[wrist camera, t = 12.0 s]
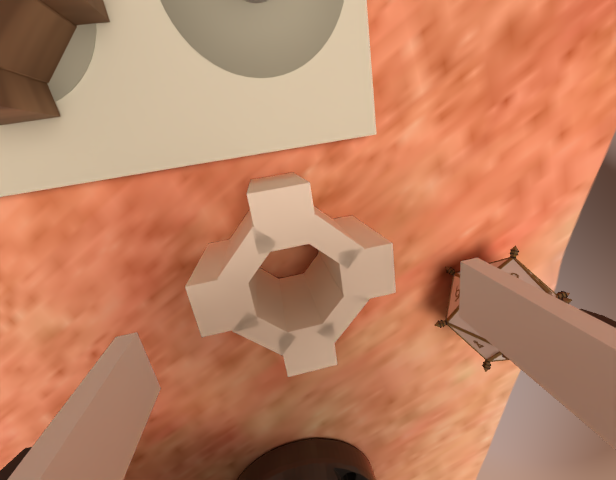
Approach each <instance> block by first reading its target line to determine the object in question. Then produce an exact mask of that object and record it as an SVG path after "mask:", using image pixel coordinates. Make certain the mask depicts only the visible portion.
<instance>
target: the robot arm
mask: <svg viewBox="0 0 616 480" xmlns="http://www.w3.org/2000/svg"><path fill="white" fill-rule="evenodd" d="M459 317H460V318H461V319H463V320H464V321H465V322H466V323H467V324H468V325H470V326H471V327H472V328H473V329H474V330H475V331H477V332H478V333H479V334H480V335H481V336H482V337H484V338H485V339H486V340H487V341H488V342H490V343H491V344H492V345H493V346H494V347H495V348H497V349H498V350H499V351H500V352H501V353H502V354H504V355H505V356H506V357H507V358H508V359H509V360H511V361H512V362H513V363H514V364H515V365H517V366H518V367H519V368H520V369H521V370H522V371H524V372H525V373H526V374H527V375H528V376H529V377H531V378H532V379H533V380H534V381H535V382H536V383H538V384H539V385H540V386H541V387H542V388H544V389H545V390H546V391H547V392H548V393H550V394H551V395H552V396H553V397H554V398H555V399H557V400H558V401H559V402H560V403H561V404H562V405H563V406H565V407H566V408H567V409H568V410H569V411H571V412H572V413H573V414H574V415H575V416H576V417H578V418H579V419H580V420H581V421H582V422H583V423H585V424H586V425H587V426H588V427H589V428H590V429H592V430H593V431H594V432H595V433H596V434H598V435H599V436H600V437H601V438H602V439H603V440H605V441H606V442H607V443H608V444H609V445H610V446H612V447H613V448H614V449H615V450H616V322H615V321H613V320H611V319H609V318H607V317H605V316H602V315H599V314H596V313H593V312H589V311H586V310H583V309H577V308H575V307H573V306H571V305H569V304H567V303H565V302H563V301H562V300H560V299H558V298H556V297H554V296H552V295H550V294H548V293H546V292H544V291H542V290H540V289H538V288H536V287H534V286H532V285H530V284H528V283H526V282H524V281H522V280H520V279H518V278H516V277H514V276H512V275H510V274H509V273H507V272H505V271H503V270H501V269H499V268H497V267H495V266H493V265H491V264H489V263H487V262H485V261H483V260H481V259H479V258H473V259H468V260H464V261H461V262H460V302H459ZM160 389H161V387H160V385H159V383H158V380H157V378H156V376H155V373H154V371H153V369H152V366H151V364H150V361H149V359H148V357H147V354H146V352H145V350H144V347H143V345H142V343H141V340H140V338H139V335H138V333H137V332H136V333H132V334H127V335H122V336H118V337H115V339H114V340H113V341H112V343H111V344H110V345H109V347H108V348H107V349H106V351H105V352H104V353H103V354H102V356H101V357H100V358H99V360H98V361H97V362H96V364H95V365H94V366H93V368H92V369H91V370H90V372H89V373H88V374H87V376H86V377H85V378H84V379H83V381H82V382H81V383H80V385H79V386H78V387H77V389H76V390H75V391H74V393H73V394H72V395H71V397H70V398H69V399H68V401H67V402H66V403H65V404H64V406H63V407H62V408H61V410H60V411H59V412H58V414H57V415H56V416H55V418H54V419H53V420H52V422H51V423H50V424H49V426H48V427H47V428H46V429H45V431H44V432H43V433H42V435H41V436H40V437H39V439H38V440H37V441H36V443H35V444H34V445H33V447H30V448H26V449H24V450H23V451H22V452H20V453H19V454H18V455H17V456H16V457H15V458H14V459H13V460H12V461H11V462H9V463H8V464H7V465H6V466H5V467H4V468H3V469H2V470H1V471H0V480H123V479H124V477H125V474H126V472H127V469H128V467H129V465H130V462H131V460H132V457H133V455H134V452H135V450H136V448H137V445H138V443H139V440H140V438H141V435H142V433H143V431H144V428H145V426H146V423H147V421H148V418H149V416H150V414H151V411H152V409H153V406H154V404H155V401H156V399H157V397H158V394H159V392H160ZM238 480H376V478H375V476H374V473H373V470H372V467H371V465H370V463H369V461H368V459H367V458H366V457H365V455H364V454H363V453H362V452H360V451H359V450H358V449H356V448H355V447H353V446H351V445H349V444H346V443H343V442H340V441H335V440H328V439H311V440H303V441H298V442H294V443H290V444H287V445H284V446H281V447H279V448H276V449H274V450H272V451H270V452H268V453H266V454H265V455H263V456H262V457H260V458H259V459H257V460H256V461H254V462H253V463H252V464H251V465H250V466H249V467H248V468H247V469H246V470H245V471H244V472H243V473H242V474H241V475H240V477H239V478H238Z"/></svg>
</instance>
